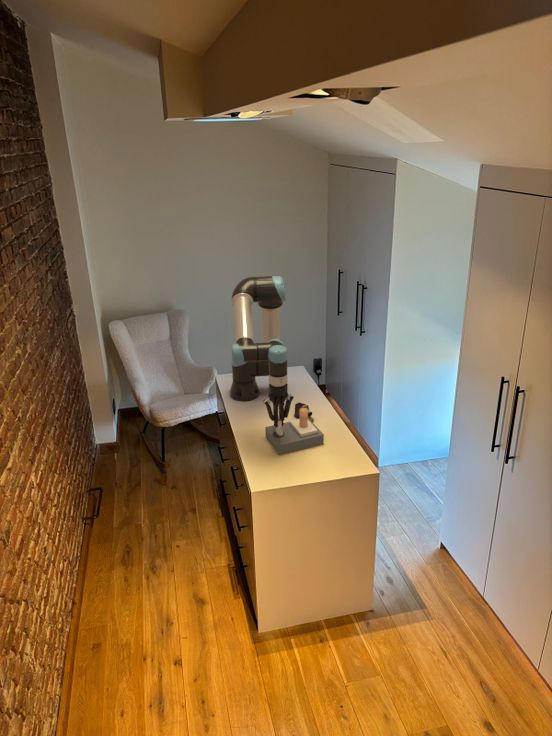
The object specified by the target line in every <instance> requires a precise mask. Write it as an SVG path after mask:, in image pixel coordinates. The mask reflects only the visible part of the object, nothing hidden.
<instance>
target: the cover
mask: <svg viewBox="0 0 552 736" xmlns="http://www.w3.org/2000/svg"><path fill="white" fill-rule="evenodd" d="M289 422H290V425H291V426H292V427H293V428H294V430H295V431H296V432H297V433H298V434H299V435H300V437H304V436H308V435H312V434H316V433H318V430H317V429H316V428H315V427H314V426H313V425H312V423H311V422H310V421H309V420H308V409H307V408H300V410H299V419H298V418H296V419H293V420H289Z"/></svg>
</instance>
